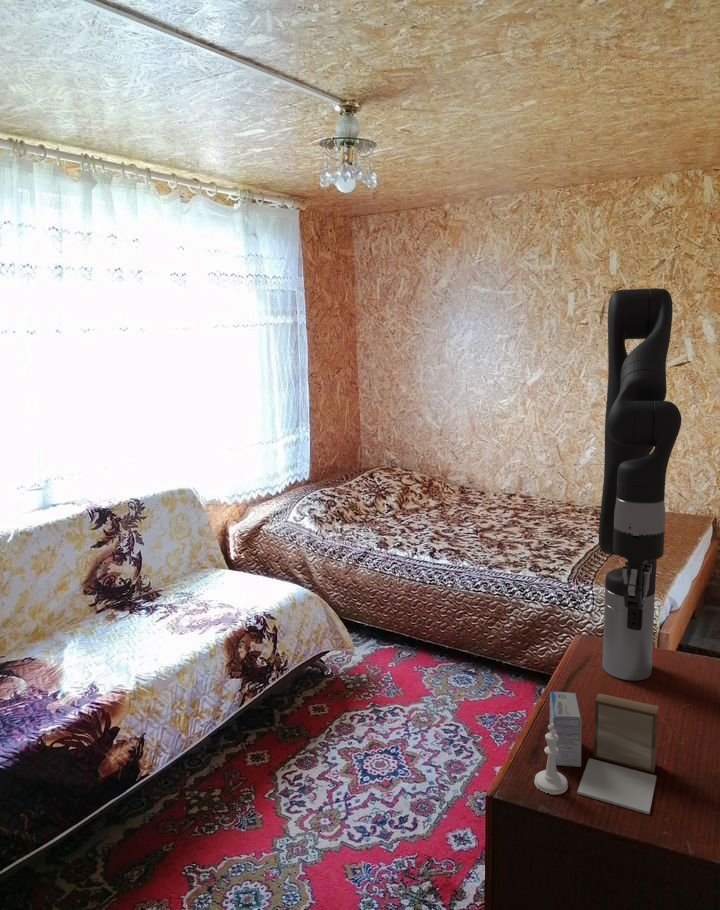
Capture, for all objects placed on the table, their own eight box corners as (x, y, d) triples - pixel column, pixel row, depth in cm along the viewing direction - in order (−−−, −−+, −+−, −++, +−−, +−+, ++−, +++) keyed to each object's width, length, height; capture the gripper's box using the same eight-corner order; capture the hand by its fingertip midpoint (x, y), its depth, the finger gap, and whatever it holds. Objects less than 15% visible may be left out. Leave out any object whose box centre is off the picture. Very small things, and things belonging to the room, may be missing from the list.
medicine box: (581, 768, 107) (582, 718, 106) (552, 765, 108) (553, 716, 107) (575, 739, 115) (577, 692, 113) (548, 737, 116) (549, 690, 114)
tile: (596, 748, 112) (598, 693, 110) (655, 764, 108) (658, 706, 106) (593, 757, 110) (595, 701, 108) (653, 773, 105) (656, 714, 104)
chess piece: (545, 797, 101) (546, 736, 99) (528, 777, 105) (529, 718, 104) (574, 790, 102) (576, 730, 100) (556, 771, 107) (557, 712, 105)
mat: (589, 760, 109) (589, 758, 109) (656, 778, 104) (656, 775, 104) (577, 793, 101) (577, 791, 101) (649, 814, 96) (649, 812, 96)
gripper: (620, 513, 115) (616, 609, 118) (607, 534, 104) (603, 639, 107) (668, 518, 112) (663, 617, 115) (660, 539, 100) (654, 649, 103)
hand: (634, 628), depth 111 cm, fingers closed
